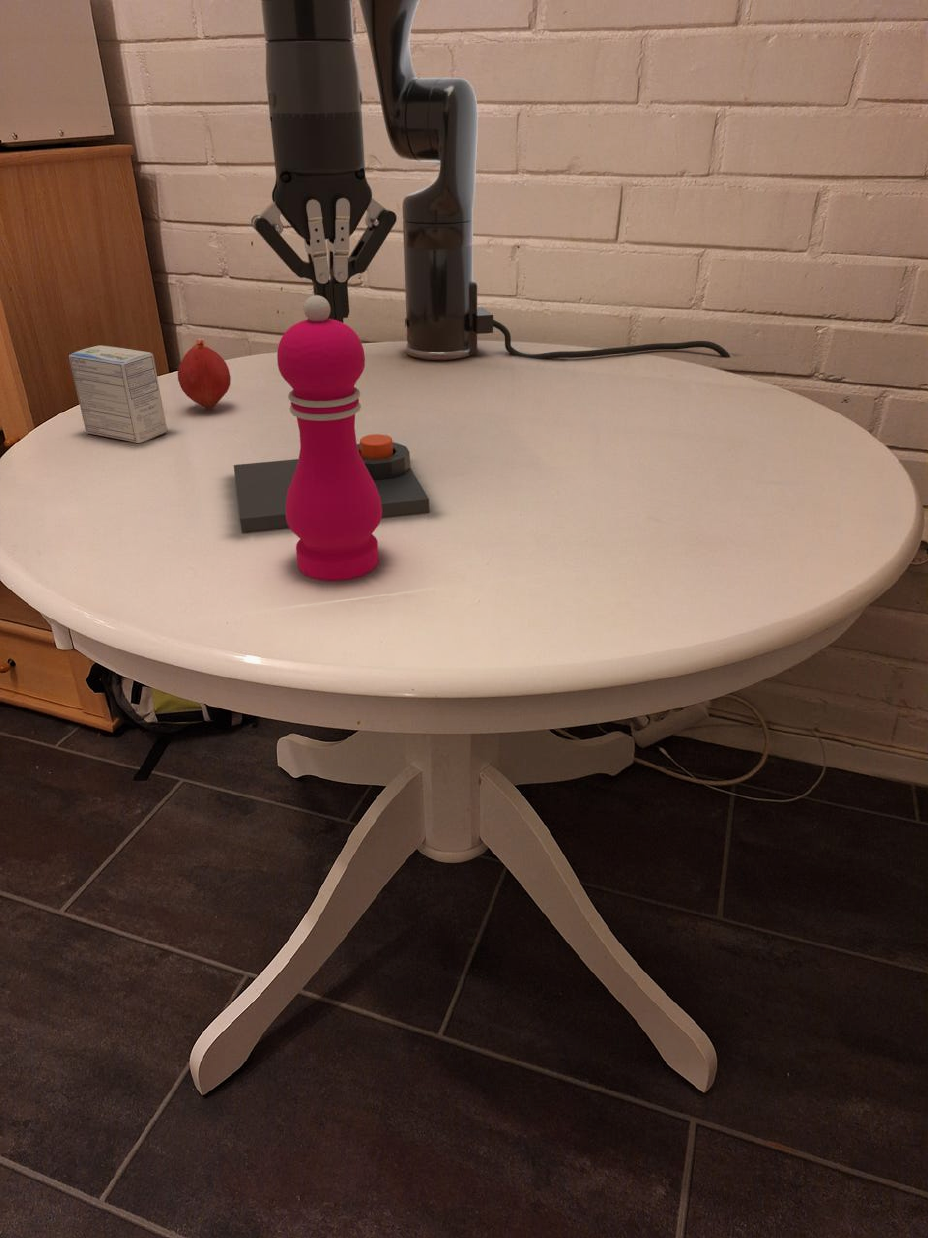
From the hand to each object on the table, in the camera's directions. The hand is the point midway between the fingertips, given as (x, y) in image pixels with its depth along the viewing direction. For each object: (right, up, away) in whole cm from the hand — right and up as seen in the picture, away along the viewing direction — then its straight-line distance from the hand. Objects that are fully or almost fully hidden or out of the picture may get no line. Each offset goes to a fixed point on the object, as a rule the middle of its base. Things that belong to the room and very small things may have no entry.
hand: (333, 323), depth 83 cm
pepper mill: (+2, -23, -12) cm, 26 cm away
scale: (0, -16, -1) cm, 16 cm away
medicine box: (-24, -7, +15) cm, 29 cm away
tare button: (+4, -12, +1) cm, 13 cm away
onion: (-18, -3, +22) cm, 29 cm away
